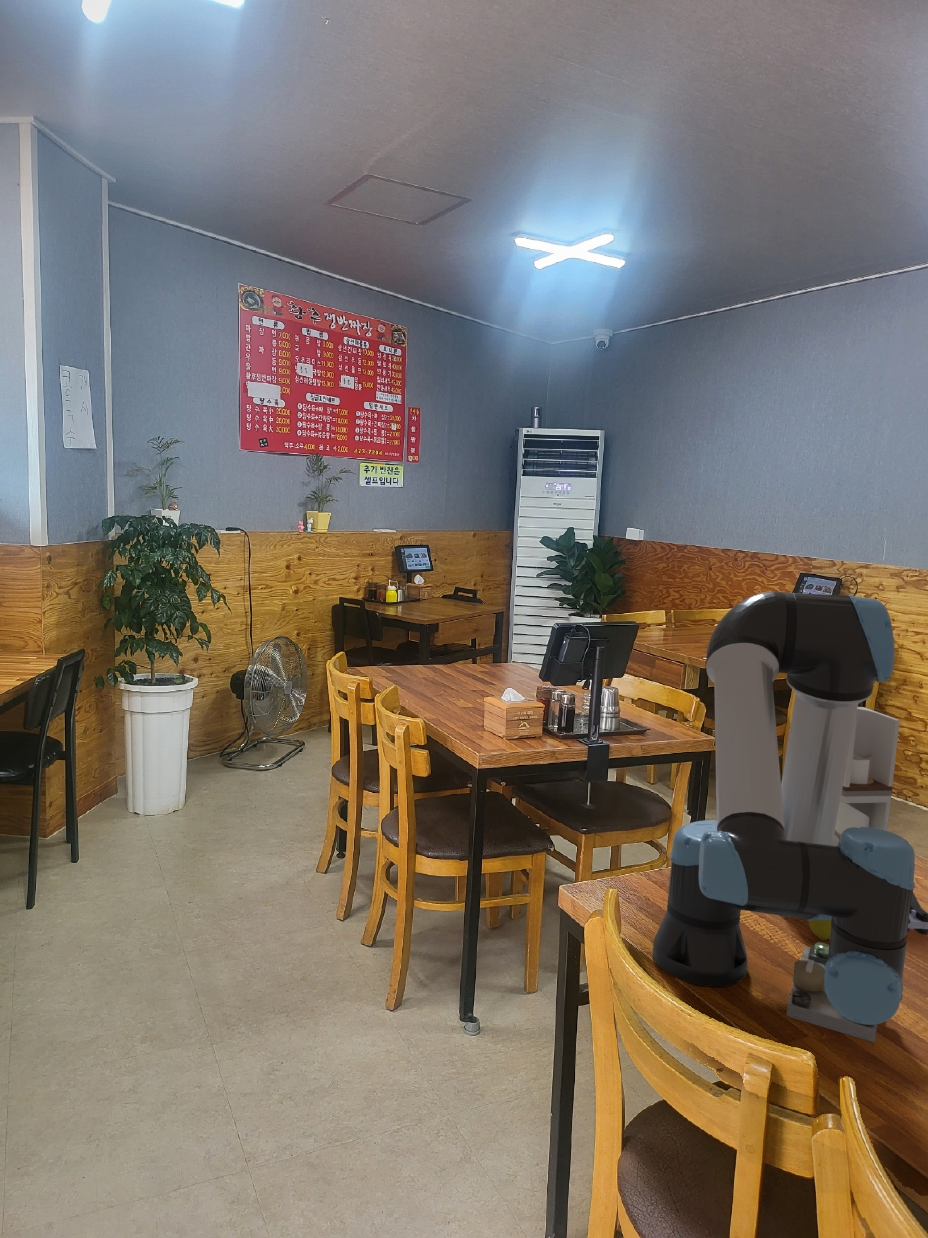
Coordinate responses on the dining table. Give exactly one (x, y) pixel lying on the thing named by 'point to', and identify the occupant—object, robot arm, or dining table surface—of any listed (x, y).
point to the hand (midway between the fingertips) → (879, 868)
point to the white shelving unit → (869, 772)
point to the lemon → (821, 928)
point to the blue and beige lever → (808, 975)
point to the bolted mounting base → (823, 1003)
